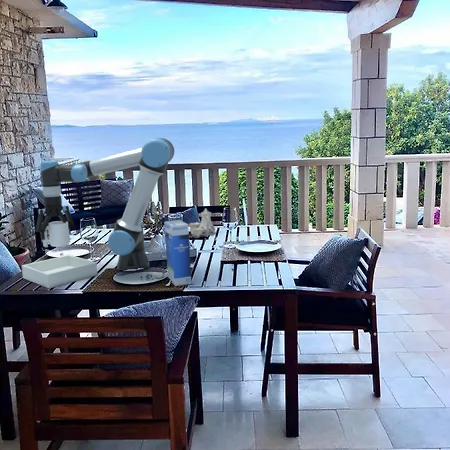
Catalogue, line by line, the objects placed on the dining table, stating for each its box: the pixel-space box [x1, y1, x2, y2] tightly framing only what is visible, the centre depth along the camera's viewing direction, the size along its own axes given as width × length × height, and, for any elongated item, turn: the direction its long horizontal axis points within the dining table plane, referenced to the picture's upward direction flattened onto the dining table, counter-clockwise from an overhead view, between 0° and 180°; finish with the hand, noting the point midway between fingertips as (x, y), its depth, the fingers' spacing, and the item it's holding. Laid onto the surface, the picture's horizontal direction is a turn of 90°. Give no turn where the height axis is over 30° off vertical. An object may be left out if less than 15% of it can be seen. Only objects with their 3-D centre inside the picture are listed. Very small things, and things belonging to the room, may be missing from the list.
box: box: [21, 254, 98, 289], centre depth 226 cm, size 24×24×6 cm
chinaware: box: [187, 208, 216, 239], centre depth 307 cm, size 28×17×17 cm, turn 12°
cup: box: [46, 220, 70, 248], centre depth 222 cm, size 8×12×10 cm
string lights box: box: [164, 219, 192, 287], centre depth 211 cm, size 13×8×26 cm, turn 21°
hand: (57, 244), depth 223 cm, fingers closed on cup, 10 cm apart
